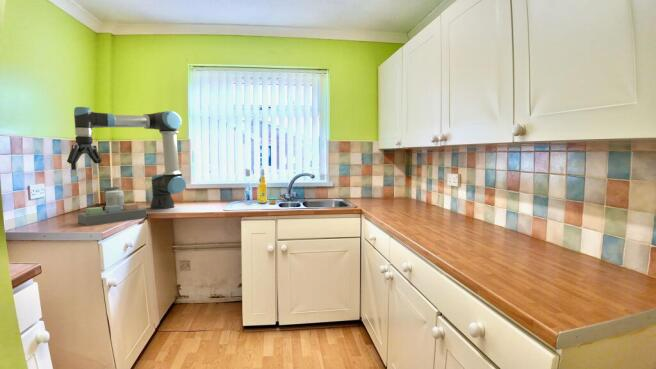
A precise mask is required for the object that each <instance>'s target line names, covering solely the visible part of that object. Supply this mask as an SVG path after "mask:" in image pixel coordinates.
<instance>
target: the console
mask: <svg viewBox="0 0 656 369" xmlns="http://www.w3.org/2000/svg"><path fill="white" fill-rule="evenodd" d="M147 217H148V216H147V208H143V207H138V209H137V210H128V211H125V210H123V209H121V211H120V212H112V213H107V212H105V210H103V214H95V215H87V214H86V212H81V213H77V223H78V224H81V225H82V226H85V227H90V226H97V225H102V224H112V223H117V222H118V223H119V222H126V221H133V220H139V219H147Z"/></svg>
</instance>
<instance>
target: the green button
mask: <svg viewBox="0 0 656 369" xmlns="http://www.w3.org/2000/svg"><path fill="white" fill-rule="evenodd" d="M85 209H86V210H85V213H86V214H87V215H95V214H103V211H104V209H103V208H102V207H101V206H100V207H87V208H85Z"/></svg>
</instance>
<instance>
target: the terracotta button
mask: <svg viewBox="0 0 656 369" xmlns="http://www.w3.org/2000/svg"><path fill="white" fill-rule="evenodd" d="M122 206H123V210H125V211H128V210H137V209H138V208H139V206H138V203H135V202H132V203H124V204H122Z"/></svg>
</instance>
